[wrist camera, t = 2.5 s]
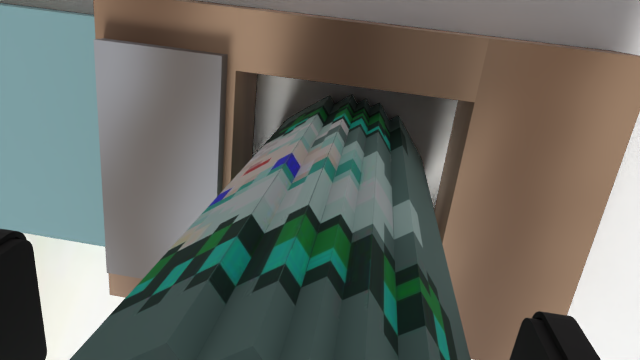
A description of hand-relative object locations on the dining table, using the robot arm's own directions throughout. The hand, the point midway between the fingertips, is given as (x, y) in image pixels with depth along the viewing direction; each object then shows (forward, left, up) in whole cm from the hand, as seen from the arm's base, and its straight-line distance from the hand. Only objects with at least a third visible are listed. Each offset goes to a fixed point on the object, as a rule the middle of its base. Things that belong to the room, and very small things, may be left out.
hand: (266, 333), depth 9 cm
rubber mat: (+14, 0, -12) cm, 18 cm away
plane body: (-1, 0, -12) cm, 11 cm away
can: (-1, 0, -12) cm, 12 cm away
